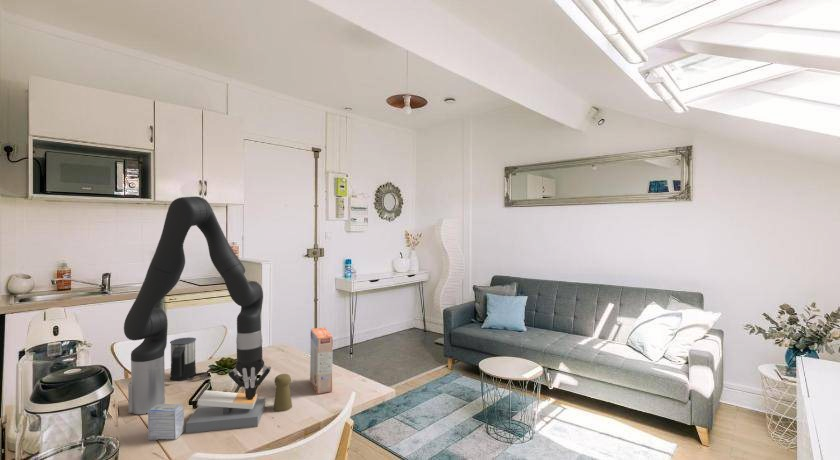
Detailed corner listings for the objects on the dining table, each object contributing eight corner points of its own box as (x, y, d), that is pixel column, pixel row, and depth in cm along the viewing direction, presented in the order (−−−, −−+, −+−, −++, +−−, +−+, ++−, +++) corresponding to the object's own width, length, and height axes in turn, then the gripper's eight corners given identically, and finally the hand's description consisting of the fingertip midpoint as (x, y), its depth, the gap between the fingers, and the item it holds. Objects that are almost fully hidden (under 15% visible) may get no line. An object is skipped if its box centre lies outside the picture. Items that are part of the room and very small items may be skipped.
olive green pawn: (285, 401, 138) (285, 370, 138) (295, 406, 134) (295, 374, 134) (269, 407, 133) (269, 375, 133) (279, 413, 130) (279, 380, 129)
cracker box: (333, 392, 146) (333, 335, 145) (316, 395, 143) (316, 337, 143) (325, 378, 159) (325, 326, 158) (309, 380, 156) (309, 328, 156)
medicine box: (184, 432, 118) (184, 403, 118) (175, 440, 114) (175, 410, 113) (157, 432, 118) (157, 403, 118) (147, 440, 113) (147, 410, 113)
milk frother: (169, 375, 161) (169, 339, 160) (213, 367, 169) (213, 333, 169) (170, 387, 149) (170, 348, 148) (217, 378, 158) (217, 342, 157)
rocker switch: (197, 405, 120) (198, 399, 120) (204, 395, 127) (205, 389, 127) (252, 409, 124) (253, 403, 124) (256, 399, 131) (257, 394, 131)
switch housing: (185, 433, 117) (185, 416, 117) (200, 412, 130) (200, 397, 130) (257, 426, 121) (257, 410, 121) (265, 406, 134) (265, 392, 134)
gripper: (223, 350, 121) (225, 406, 122) (269, 346, 124) (270, 401, 125) (230, 342, 129) (231, 395, 129) (273, 339, 131) (274, 391, 132)
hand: (250, 398), depth 127 cm, fingers closed
